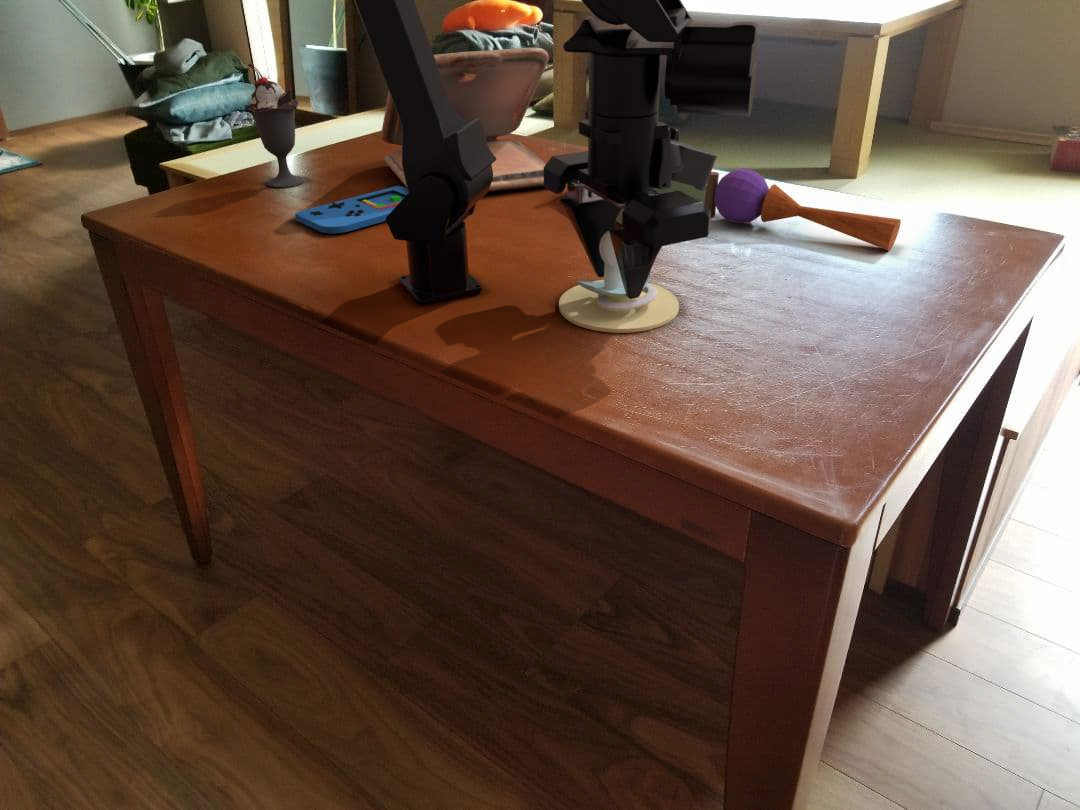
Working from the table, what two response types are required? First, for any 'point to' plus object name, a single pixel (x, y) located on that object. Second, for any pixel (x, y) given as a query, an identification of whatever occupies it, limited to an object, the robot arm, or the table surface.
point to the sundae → (275, 125)
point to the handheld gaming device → (353, 211)
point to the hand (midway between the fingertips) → (617, 286)
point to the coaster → (588, 314)
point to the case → (487, 108)
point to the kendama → (794, 209)
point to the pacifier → (615, 283)
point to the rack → (692, 193)
